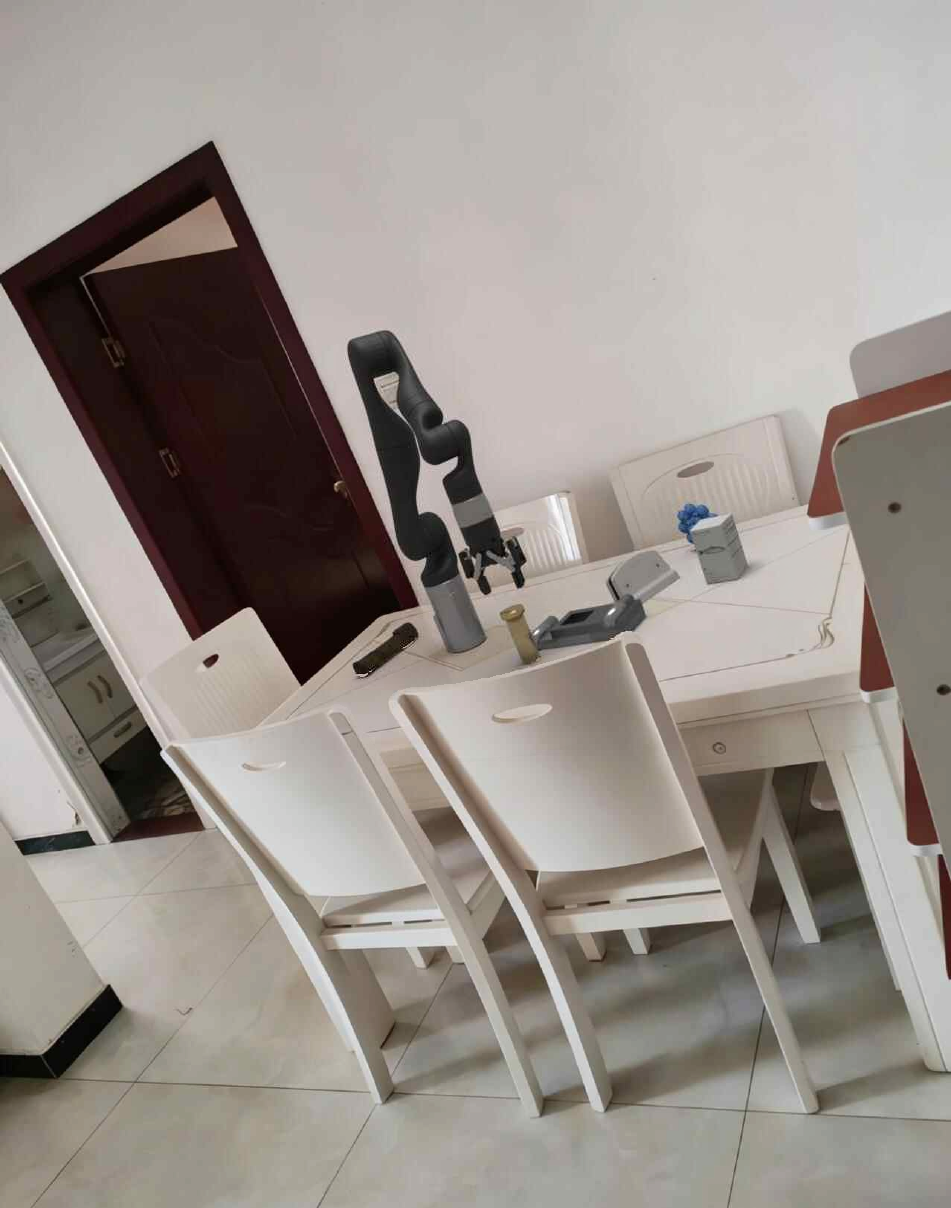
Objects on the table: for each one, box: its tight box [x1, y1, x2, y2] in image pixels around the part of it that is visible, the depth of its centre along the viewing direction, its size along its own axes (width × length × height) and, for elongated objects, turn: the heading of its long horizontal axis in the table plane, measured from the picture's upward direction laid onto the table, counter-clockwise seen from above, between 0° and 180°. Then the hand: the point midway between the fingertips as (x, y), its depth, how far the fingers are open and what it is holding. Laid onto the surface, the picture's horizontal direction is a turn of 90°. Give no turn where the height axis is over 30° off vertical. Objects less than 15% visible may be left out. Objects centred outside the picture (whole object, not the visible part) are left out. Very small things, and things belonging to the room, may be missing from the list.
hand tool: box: [352, 621, 420, 675], centre depth 242 cm, size 23×5×6 cm, turn 139°
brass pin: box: [499, 603, 541, 666], centre depth 198 cm, size 5×5×12 cm
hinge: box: [605, 549, 681, 605], centre depth 212 cm, size 17×5×10 cm, turn 129°
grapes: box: [676, 502, 719, 545], centre depth 224 cm, size 12×7×12 cm, turn 48°
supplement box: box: [690, 513, 749, 585], centre depth 201 cm, size 7×7×13 cm
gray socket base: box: [531, 594, 647, 651], centre depth 202 cm, size 26×11×6 cm, turn 57°
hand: (504, 590), depth 196 cm, fingers open, 8 cm apart
